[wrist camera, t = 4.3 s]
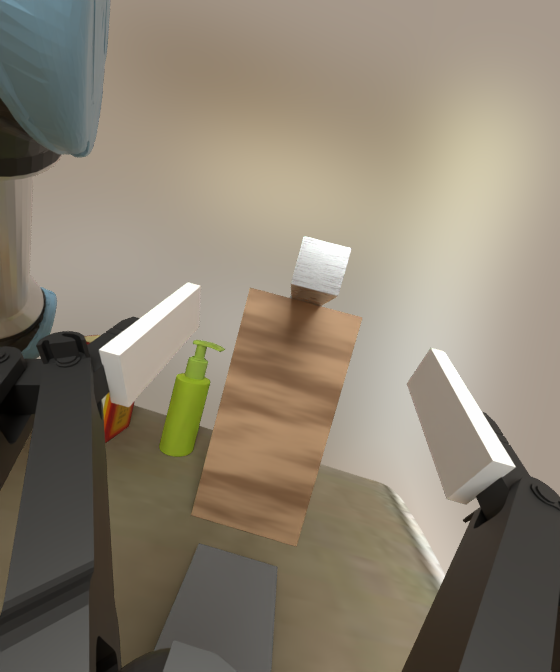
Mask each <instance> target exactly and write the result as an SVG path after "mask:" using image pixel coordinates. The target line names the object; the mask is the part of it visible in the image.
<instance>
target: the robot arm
mask: <svg viewBox="0 0 560 672" xmlns="http://www.w3.org/2000/svg"><path fill="white" fill-rule="evenodd" d="M109 16H110V0H0V490H1V488H2V486H3V484H4V482H5V480H6V478H7V477H8V475H9V473H10V471H11V469H12V467H13V465H14V463H15V461H16V459H17V457H18V455H19V454H20V452H21V450H22V448H23V446H24V444H25V442H26V440H27V438H28V436H29V434H30V433H31V431H32V429H33V431H32V437H31V443H30V449H29V455H28V461H27V467H26V473H25V479H24V485H23V491H22V497H21V503H20V509H19V515H18V521H17V527H16V533H15V539H14V545H13V551H12V557H11V563H10V569H9V575H8V581H7V587H6V593H5V599H4V604H3V608H2V612H1V615H0V672H238V671H236V670H235V669H234V668H233V667H232V666H231V665H229V664H228V663H227V662H226V661H225V660H223V659H222V658H221V657H220V656H219V655H217V654H215V653H212V652H209V651H206V650H203V649H200V648H197V647H193V646H190V645H187V644H184V643H181V642H178V641H175V640H173V643H172V646H171V648H165V649H159V650H156V651H153V652H149V653H147V654H145V655H143V656H141V657H139V658H137V659H135V660H133V661H132V662H130V663H129V664H127V665H125V666H124V667H122V668H121V653H120V638H119V627H118V619H117V613H116V608H115V600H114V586H113V569H112V552H111V535H110V517H109V500H108V483H107V466H106V448H105V431H104V414H103V403H102V399H103V398H104V397H105V396H106V395H107V394H108V393H109V395H110V399H111V402H112V403H115V404H119V405H122V406H126V407H130V406H131V405H132V403H133V402H134V401H135V400H136V399H137V397H138V396H139V395H140V394H141V393H142V392H143V391H144V390H145V388H146V387H147V386H148V385H149V384H150V383H151V382H152V380H153V379H154V378H155V377H156V376H157V375H158V373H159V372H160V371H161V370H162V369H163V368H164V367H165V365H166V364H167V363H168V362H169V361H170V360H171V359H172V357H173V356H174V355H175V354H176V352H178V350H179V349H180V348H181V347H182V346H183V345H184V344H185V342H186V341H187V340H188V339H189V338H190V337H191V335H192V334H193V333H194V332H195V331H196V330H197V329H198V328H199V321H200V292H201V286H199V285H195V284H192V283H186V284H185V285H184V286H182V287H181V288H180V289H179V290H177V291H176V292H175V293H173V294H172V295H170V296H169V297H168V298H166V299H165V300H164V301H163V302H161V303H160V304H159V305H157V306H156V307H155V308H153V309H152V310H151V311H149V312H148V313H147V314H145V315H144V316H143V317H141V318H136V317H131V318H128V319H125V320H122V321H121V322H119V323H118V324H117V325H115V326H114V327H113V328H111V329H109V330H108V331H106V333H104V334H102V335H101V336H99V337H98V338H96V339H95V340H94V341H92V342H91V343H89V344H88V345H87V343H86V339H85V337H84V336H83V335H82V334H80V333H77V332H72V331H69V332H67V331H66V332H64V331H63V332H58V333H53V334H50V332H51V329H52V326H53V322H54V318H55V312H56V306H57V298H56V295H55V293H54V292H52V291H50V290H46V289H44V288H43V287H40V286H39V285H38V284H37V282H36V281H35V280H34V279H33V278H32V277H31V276H30V274H29V273H30V245H31V221H32V192H33V176H36V175H38V174H41V173H43V172H45V171H47V170H49V169H50V168H52V167H53V166H54V165H55V164H56V163H57V162H58V161H59V160H60V158H61V156H62V154H71V155H73V156H74V157H85V156H87V155H89V154H90V152H91V150H92V148H93V146H94V142H95V138H96V133H97V127H98V122H99V117H100V110H101V102H102V94H103V81H104V65H105V60H106V53H107V44H108V30H109ZM39 356H40V357H41V359H36V358H37V357H39ZM407 386H408V388H409V391H410V394H411V397H412V400H413V403H414V406H415V409H416V412H417V414H418V417H419V420H420V423H421V426H422V429H423V432H424V435H425V437H426V441H427V444H428V446H429V449H430V452H431V455H432V458H433V461H434V464H435V467H436V470H437V472H438V475H439V478H440V481H441V484H442V487H443V490H444V493H445V496H446V498H447V499H448V500H452V501H455V502H459V503H462V504H467V503H469V502H470V501H472V500H473V499H474V498H477V500H478V502H479V505H480V508H478V509H477V510H475V511H474V512H473V513H471V514H470V515H468V516H467V517H466V518H465V519H463V521H464V522H465V523H466V522H468V521H470V523H469V525H468V528H467V529H466V532H465V534H464V536H463V538H462V540H461V543H460V545H459V547H458V549H457V551H456V554H455V556H454V558H453V560H452V562H451V565H450V567H449V569H448V571H447V573H446V575H445V578H444V580H443V582H442V584H441V586H440V589H439V591H438V593H437V595H436V597H435V600H434V602H433V604H432V606H431V608H430V611H429V613H428V615H427V617H426V619H425V622H424V624H423V626H422V628H421V630H420V633H419V635H418V637H417V639H416V641H415V643H414V646H413V648H412V650H411V652H410V654H409V657H408V659H407V661H406V663H405V665H404V668H403V670H402V672H560V497H559V496H558V494H557V493H556V492H555V491H554V490H552V489H551V488H550V487H549V486H548V485H546V484H545V483H543V482H541V481H540V480H538V479H536V478H533V477H531V476H530V475H529V474H528V472H527V470H526V469H525V467H524V466H523V464H522V463H521V461H520V460H519V458H518V457H517V455H516V454H515V452H514V450H513V449H512V447H511V446H510V445H508V441H507V440H506V438H505V437H504V436H503V433H502V432H501V430H500V429H499V427H498V426H497V424H496V423H495V422H494V421H493V420H492V419H491V418H490V417H489V416H488V415H487V414H486V413H484V412H482V411H481V410H480V408H479V407H478V405H477V403H476V402H475V400H474V398H473V397H472V395H471V394H470V392H469V390H468V389H467V387H466V385H465V384H464V382H463V381H462V379H461V377H460V376H459V374H458V373H457V371H456V369H455V368H454V366H453V364H452V363H451V361H450V359H449V358H448V356H447V355H446V353H445V352H444V351H441V350H437V349H433V348H430V350H429V351H428V353H427V354H426V356H425V357H424V359H423V360H422V362H421V363H420V365H419V366H418V368H417V369H416V371H415V372H414V374H413V375H412V377H411V378H410V380H409V381H408V383H407Z"/></svg>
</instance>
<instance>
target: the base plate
mask: <svg viewBox="0 0 560 672" xmlns="http://www.w3.org/2000/svg"><path fill="white" fill-rule="evenodd" d="M276 583H277V567H276V566H273V565H270V564H266V563H263V562H260V561H257V560H253V559H250V558H247V557H243V556H240V555H237V554H233V553H230V552H227V551H223V550H220V549H217V548H213V547H210V546H207V545H203V544H200V543H199V545H198V547H197V549H196V552H195V554H194V557H193V559H192V561H191V564H190V566H189V568H188V571H187V573H186V576H185V578H184V580H183V583H182V585H181V587H180V590H179V592H178V594H177V597H176V599H175V602H174V604H173V606H172V609H171V611H170V613H169V616H168V618H167V621H166V623H165V625H164V628H163V630H162V632H161V635H160V637H159V640H158V642H157V644H156V647H155V649H154V651H156V650H159V649H165V648H171V646H172V643H173V640H175V641H178V642H181V643H184V644H187V645H190V646H193V647H197V648H200V649H203V650H206V651H209V652H212V653H215V654H217V655H219V656H220V657H221V658H222V659H223V660H225V661H226V662H227V663H228V664H229V665H231V666H232V667H233V668H234V669H235V670H236V671H238V672H271V666H272V650H273V633H274V616H275V600H276Z"/></svg>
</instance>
